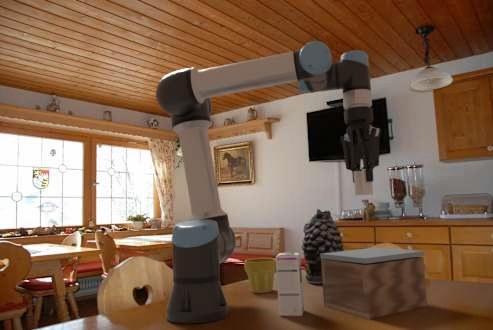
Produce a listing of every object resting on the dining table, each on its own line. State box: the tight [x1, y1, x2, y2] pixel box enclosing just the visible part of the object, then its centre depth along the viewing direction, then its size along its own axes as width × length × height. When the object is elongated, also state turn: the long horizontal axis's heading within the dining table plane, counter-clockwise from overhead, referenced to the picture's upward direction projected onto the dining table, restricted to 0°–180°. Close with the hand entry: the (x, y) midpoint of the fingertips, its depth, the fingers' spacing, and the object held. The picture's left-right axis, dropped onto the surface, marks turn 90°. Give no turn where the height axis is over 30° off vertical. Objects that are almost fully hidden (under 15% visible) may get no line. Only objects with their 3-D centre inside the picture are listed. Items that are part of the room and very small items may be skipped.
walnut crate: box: [321, 256, 428, 320], centre depth 104 cm, size 20×16×12 cm
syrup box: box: [275, 251, 305, 317], centre depth 101 cm, size 6×6×14 cm
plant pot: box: [243, 257, 276, 294], centre depth 129 cm, size 10×10×10 cm
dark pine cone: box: [301, 208, 346, 284], centre depth 144 cm, size 21×15×25 cm
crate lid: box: [320, 247, 425, 264], centre depth 105 cm, size 20×16×1 cm
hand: (364, 194), depth 108 cm, fingers open, 2 cm apart
